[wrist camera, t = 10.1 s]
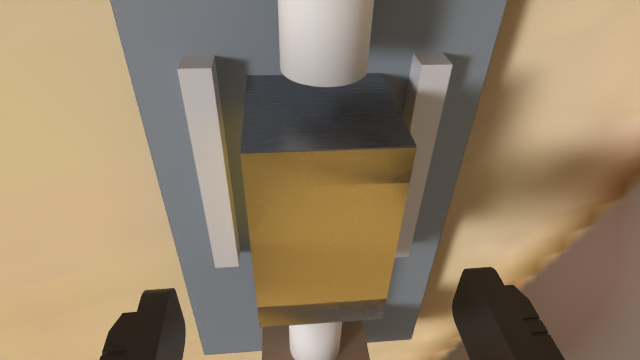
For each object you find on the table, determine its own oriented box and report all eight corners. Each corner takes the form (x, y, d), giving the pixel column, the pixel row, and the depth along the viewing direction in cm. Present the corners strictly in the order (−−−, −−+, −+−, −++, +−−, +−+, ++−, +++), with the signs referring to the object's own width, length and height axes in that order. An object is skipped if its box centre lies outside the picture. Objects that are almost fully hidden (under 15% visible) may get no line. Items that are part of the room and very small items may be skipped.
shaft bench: (404, 317, 26) (438, 434, 21) (207, 331, 25) (191, 458, 20) (563, -312, 10) (867, -473, 5) (42, -349, 9) (-254, -603, 4)
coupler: (246, 75, 14) (240, 152, 11) (380, 73, 14) (417, 146, 11) (261, 237, 19) (259, 327, 15) (361, 231, 19) (382, 318, 16)
